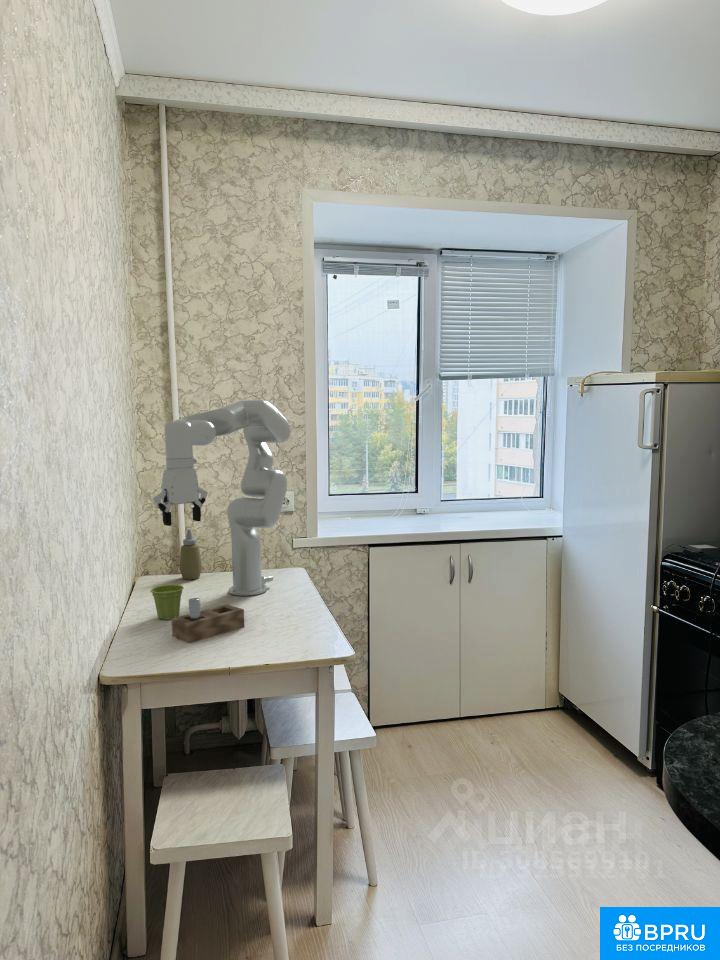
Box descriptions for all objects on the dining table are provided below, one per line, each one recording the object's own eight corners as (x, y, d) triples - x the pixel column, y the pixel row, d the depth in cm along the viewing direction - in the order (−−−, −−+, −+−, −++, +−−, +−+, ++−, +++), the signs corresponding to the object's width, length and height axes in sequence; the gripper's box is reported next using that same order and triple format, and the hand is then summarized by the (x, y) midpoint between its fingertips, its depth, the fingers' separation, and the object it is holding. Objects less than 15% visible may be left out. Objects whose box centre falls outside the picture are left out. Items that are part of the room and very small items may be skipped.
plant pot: (151, 614, 207) (150, 586, 206) (183, 610, 210) (182, 583, 209) (152, 623, 198) (150, 593, 197) (185, 619, 201) (184, 590, 200)
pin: (197, 633, 188) (195, 597, 187) (203, 635, 186) (202, 599, 185) (187, 635, 186) (186, 599, 185) (194, 638, 184) (192, 601, 183)
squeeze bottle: (181, 576, 254) (179, 528, 253) (203, 575, 255) (201, 527, 254) (178, 581, 246) (175, 531, 245) (201, 580, 247) (199, 531, 246)
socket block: (227, 621, 199) (227, 604, 198) (244, 626, 193) (243, 609, 193) (172, 636, 186) (171, 618, 185) (189, 643, 180) (188, 624, 180)
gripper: (198, 461, 207) (200, 518, 209) (145, 466, 194) (148, 525, 196) (212, 462, 202) (214, 520, 203) (159, 467, 189) (162, 528, 191)
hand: (182, 523), depth 200 cm, fingers open, 9 cm apart
